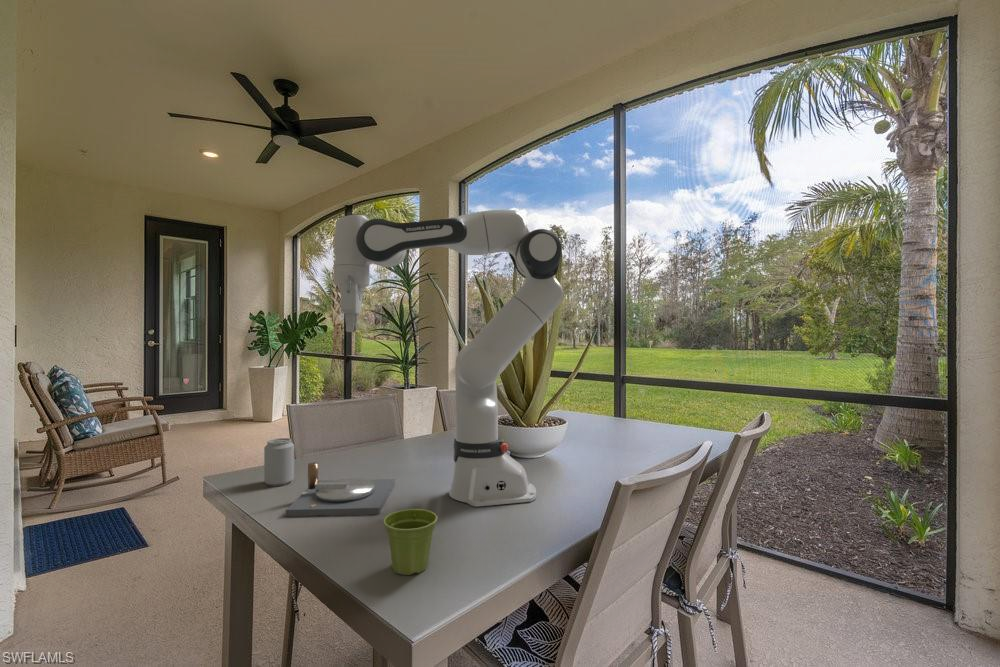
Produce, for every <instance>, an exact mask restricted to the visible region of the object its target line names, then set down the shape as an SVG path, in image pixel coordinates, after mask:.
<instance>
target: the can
mask: <svg viewBox="0 0 1000 667" xmlns="http://www.w3.org/2000/svg"><path fill="white" fill-rule="evenodd" d="M263 448H264V449H263V450H264V457H263V458H264V459H263V460H264V462H263V463H264V465H263V468H264V469H263V473H264V475H263V476H264V478H263V479H264V483H265V484H266V485H267V486H269V487H281V486H280V485H282V486H285V484H286V485H288V484H287V483H289V482H290V483H291V482H293V481H294V479H295V444H294V443H293V442H292V439H291V438H289V437H281V438H280V437H279V438H273V439H269V440H267V441H266V445H264V446H263ZM290 483H289V484H290Z"/></svg>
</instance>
